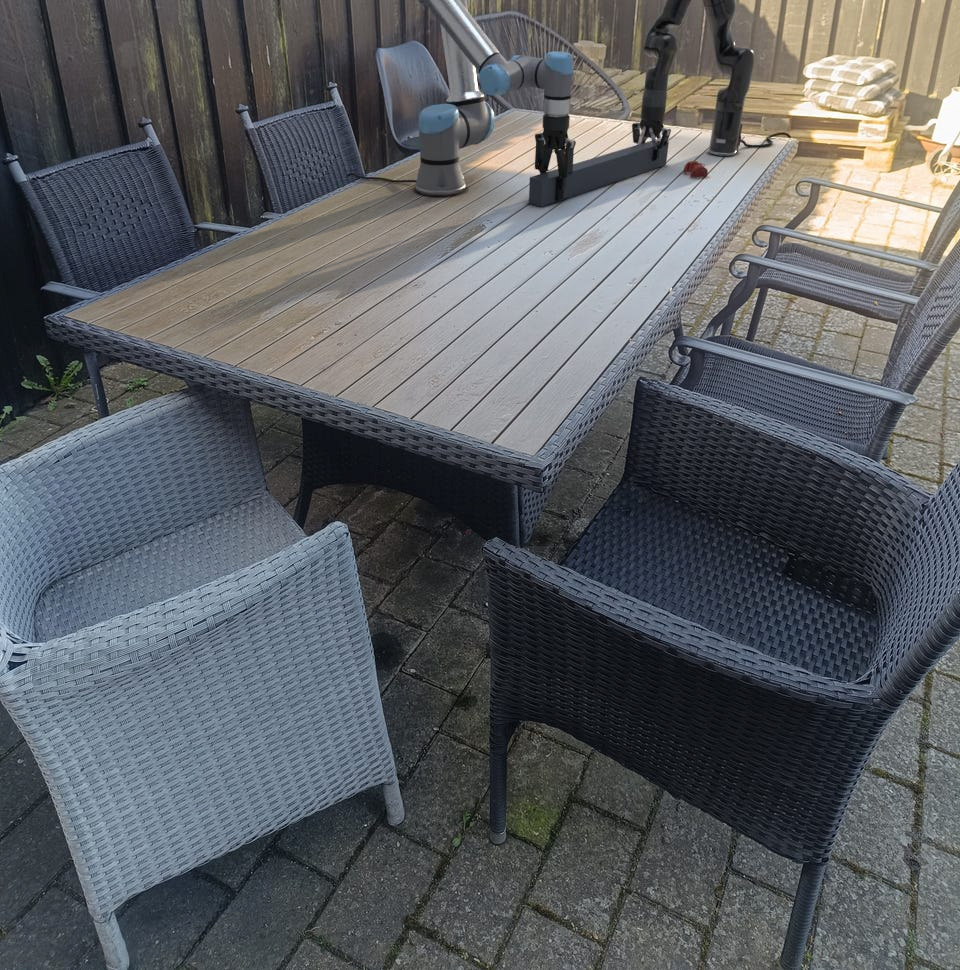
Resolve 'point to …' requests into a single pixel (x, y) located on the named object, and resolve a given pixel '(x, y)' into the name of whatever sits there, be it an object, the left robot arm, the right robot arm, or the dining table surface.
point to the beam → (597, 172)
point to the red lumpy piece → (696, 169)
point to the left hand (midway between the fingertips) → (551, 197)
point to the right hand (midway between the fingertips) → (647, 159)
